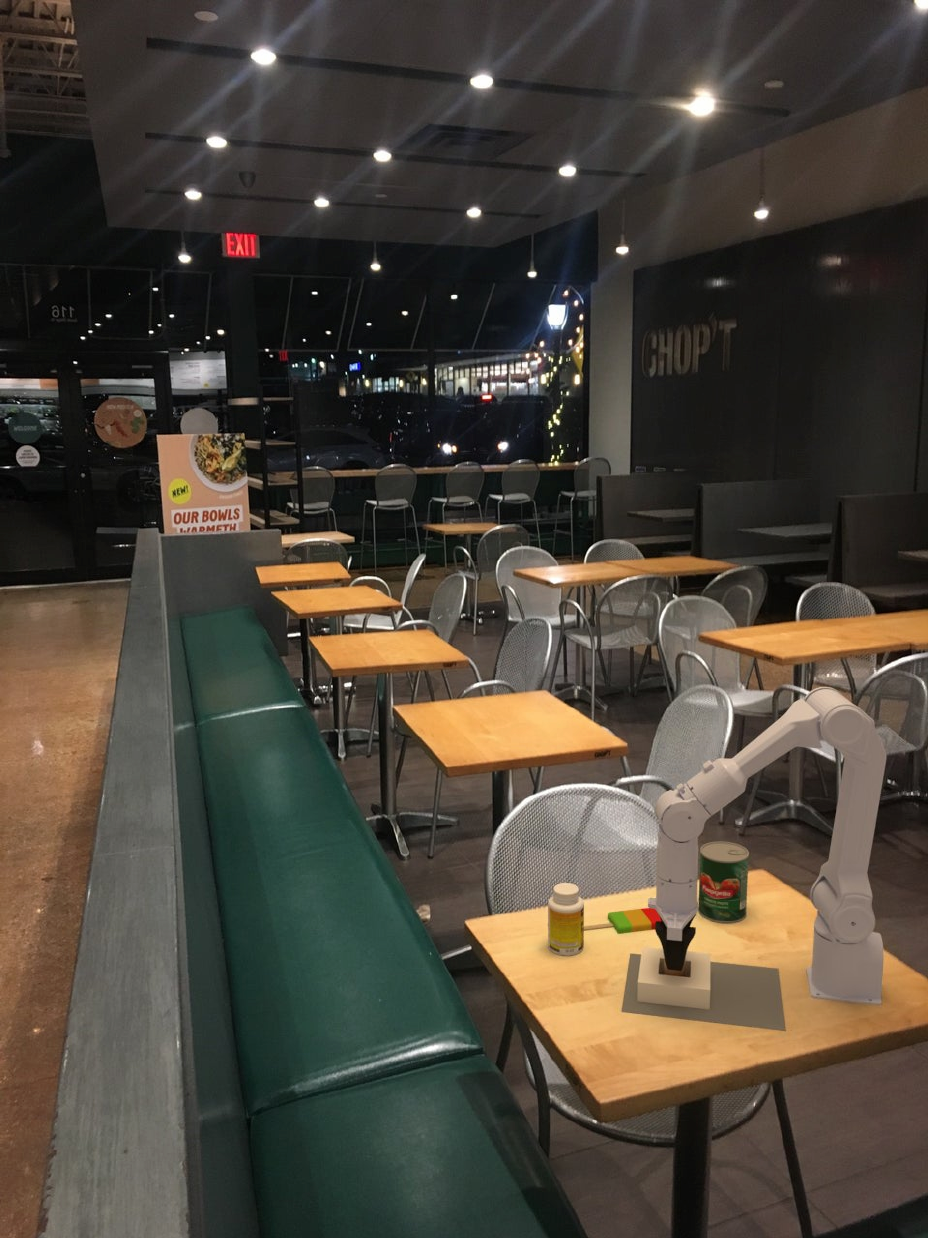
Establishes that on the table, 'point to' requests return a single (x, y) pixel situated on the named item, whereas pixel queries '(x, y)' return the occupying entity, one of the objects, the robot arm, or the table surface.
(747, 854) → the canned tomato
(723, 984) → the mat
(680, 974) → the peg
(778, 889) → the table surface
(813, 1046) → the table surface
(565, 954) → the supplement bottle
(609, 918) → the popsicle
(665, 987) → the hole block
